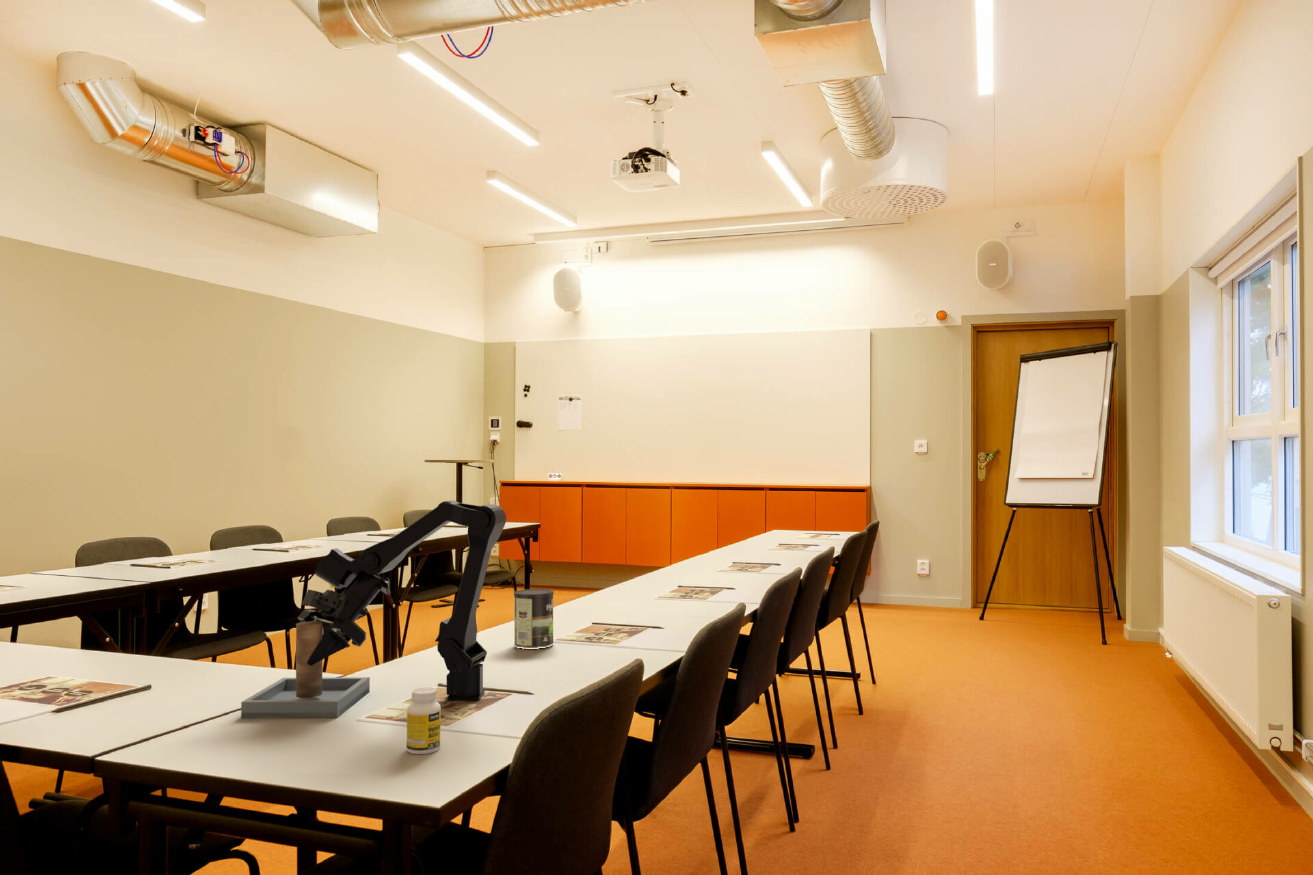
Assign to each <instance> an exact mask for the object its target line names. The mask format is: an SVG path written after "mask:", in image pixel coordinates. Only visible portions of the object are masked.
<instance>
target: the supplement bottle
mask: <svg viewBox="0 0 1313 875" xmlns="http://www.w3.org/2000/svg"><path fill="white" fill-rule="evenodd" d="M437 692H438V691H437V689H436V687H418V688H414V689H413V690H412V691H411V701H412V702H411V703H410V704H409V705H408V706H407V709H406V710H407V711H406V751H407V752H408V753H409V754H413V755H427V754H433V753H435V752H437V751H439V749H440V748H441V725H442V724H441V722H442V720H441V713H442V712H441V704H440V703H439V702H438V701H436V700H437V698H438V693H437Z"/></svg>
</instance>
